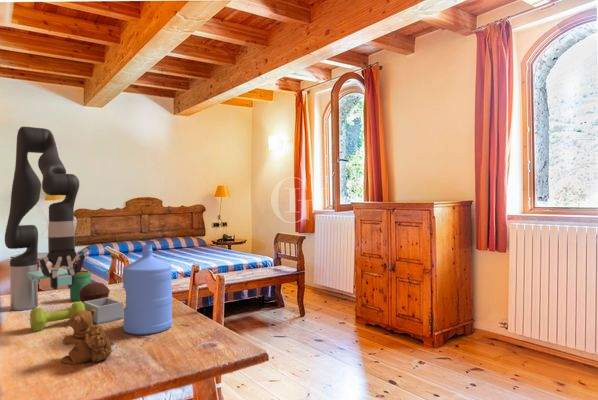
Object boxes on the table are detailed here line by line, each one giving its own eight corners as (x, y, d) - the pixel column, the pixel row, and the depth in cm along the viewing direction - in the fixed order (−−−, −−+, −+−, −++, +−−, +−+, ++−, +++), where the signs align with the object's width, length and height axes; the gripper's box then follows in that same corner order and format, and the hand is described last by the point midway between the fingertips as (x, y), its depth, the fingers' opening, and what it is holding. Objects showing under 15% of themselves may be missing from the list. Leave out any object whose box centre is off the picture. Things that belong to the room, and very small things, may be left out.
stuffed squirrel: (86, 349, 121) (86, 304, 121) (123, 356, 116) (123, 309, 116) (55, 362, 112) (54, 313, 112) (93, 370, 107) (93, 319, 107)
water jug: (182, 324, 145) (181, 243, 144) (148, 338, 130) (147, 248, 130) (148, 318, 151) (147, 241, 151) (112, 331, 137) (111, 246, 137)
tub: (83, 318, 153) (83, 301, 153) (108, 312, 160) (108, 297, 159) (97, 324, 145) (97, 307, 145) (123, 318, 152) (122, 302, 152)
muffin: (112, 309, 165) (112, 284, 165) (81, 314, 158) (80, 287, 158) (107, 303, 174) (106, 279, 174) (77, 307, 168) (76, 282, 168)
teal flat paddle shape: (26, 280, 142) (26, 272, 142) (61, 275, 151) (61, 268, 150) (46, 288, 130) (46, 279, 130) (82, 282, 138) (82, 274, 138)
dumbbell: (32, 334, 136) (31, 312, 136) (28, 328, 142) (28, 307, 142) (87, 324, 146) (87, 303, 146) (82, 318, 152) (81, 299, 152)
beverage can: (87, 296, 186) (87, 269, 186) (93, 299, 180) (93, 272, 180) (68, 299, 181) (67, 272, 181) (73, 303, 175) (72, 274, 175)
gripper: (80, 233, 143) (80, 282, 143) (32, 236, 132) (33, 290, 133) (89, 234, 138) (89, 285, 138) (40, 237, 127) (41, 293, 128)
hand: (62, 287), depth 135 cm, fingers closed on teal flat paddle shape, 4 cm apart
